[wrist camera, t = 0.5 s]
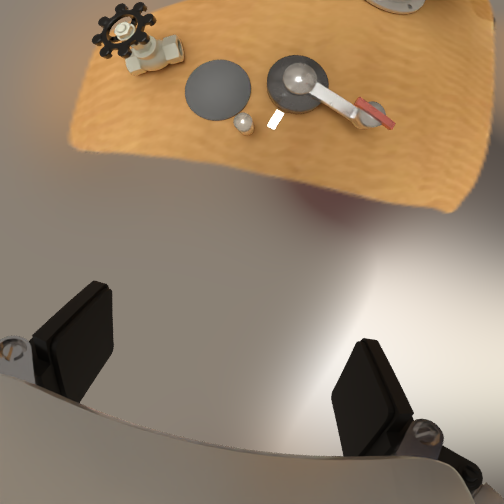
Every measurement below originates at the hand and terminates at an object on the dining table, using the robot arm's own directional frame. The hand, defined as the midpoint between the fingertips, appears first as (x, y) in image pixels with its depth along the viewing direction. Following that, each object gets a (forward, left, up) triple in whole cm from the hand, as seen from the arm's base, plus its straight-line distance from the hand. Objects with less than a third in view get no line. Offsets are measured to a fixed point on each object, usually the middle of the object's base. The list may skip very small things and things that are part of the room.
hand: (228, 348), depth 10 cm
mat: (-11, -11, -28) cm, 32 cm away
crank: (-16, +1, -25) cm, 30 cm away
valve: (-12, -20, -28) cm, 37 cm away
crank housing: (-13, -3, -28) cm, 31 cm away
